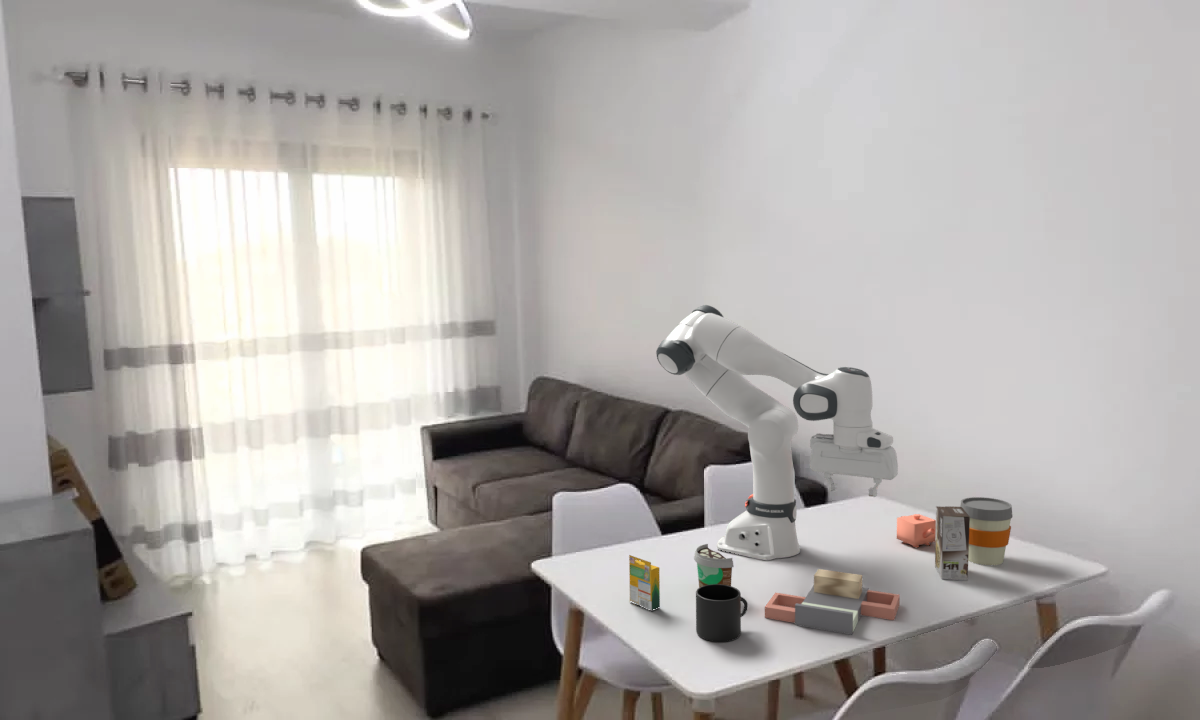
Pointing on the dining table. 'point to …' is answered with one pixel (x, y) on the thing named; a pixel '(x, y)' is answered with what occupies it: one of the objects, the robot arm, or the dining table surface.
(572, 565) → the dining table surface
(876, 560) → the dining table surface
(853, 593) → the beech bar
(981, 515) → the reusable coffee cup
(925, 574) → the dining table surface
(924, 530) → the pink cube teapot
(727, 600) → the mug
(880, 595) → the board
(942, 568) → the coffee box
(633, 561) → the crayon box
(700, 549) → the food container
